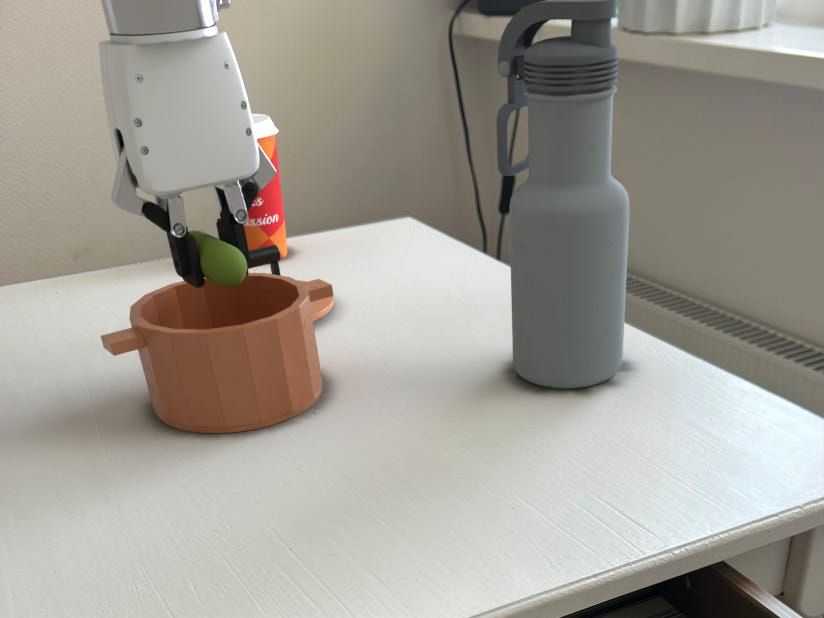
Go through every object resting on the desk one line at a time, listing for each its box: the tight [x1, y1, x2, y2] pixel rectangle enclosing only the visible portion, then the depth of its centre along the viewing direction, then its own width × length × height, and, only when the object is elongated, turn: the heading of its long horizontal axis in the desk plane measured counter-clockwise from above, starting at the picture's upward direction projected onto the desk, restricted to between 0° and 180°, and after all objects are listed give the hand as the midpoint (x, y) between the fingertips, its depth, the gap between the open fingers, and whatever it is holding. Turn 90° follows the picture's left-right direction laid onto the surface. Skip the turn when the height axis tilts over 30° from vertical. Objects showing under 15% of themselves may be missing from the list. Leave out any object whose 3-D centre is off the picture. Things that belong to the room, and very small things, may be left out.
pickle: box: [188, 229, 247, 287], centre depth 79 cm, size 9×3×3 cm, turn 37°
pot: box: [100, 272, 334, 434], centre depth 84 cm, size 15×20×8 cm
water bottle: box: [495, 0, 630, 390], centre depth 79 cm, size 10×10×28 cm
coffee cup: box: [238, 113, 288, 259], centre depth 115 cm, size 8×8×15 cm
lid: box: [247, 245, 335, 322], centre depth 101 cm, size 16×16×6 cm
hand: (215, 275), depth 80 cm, fingers closed on pickle, 3 cm apart
